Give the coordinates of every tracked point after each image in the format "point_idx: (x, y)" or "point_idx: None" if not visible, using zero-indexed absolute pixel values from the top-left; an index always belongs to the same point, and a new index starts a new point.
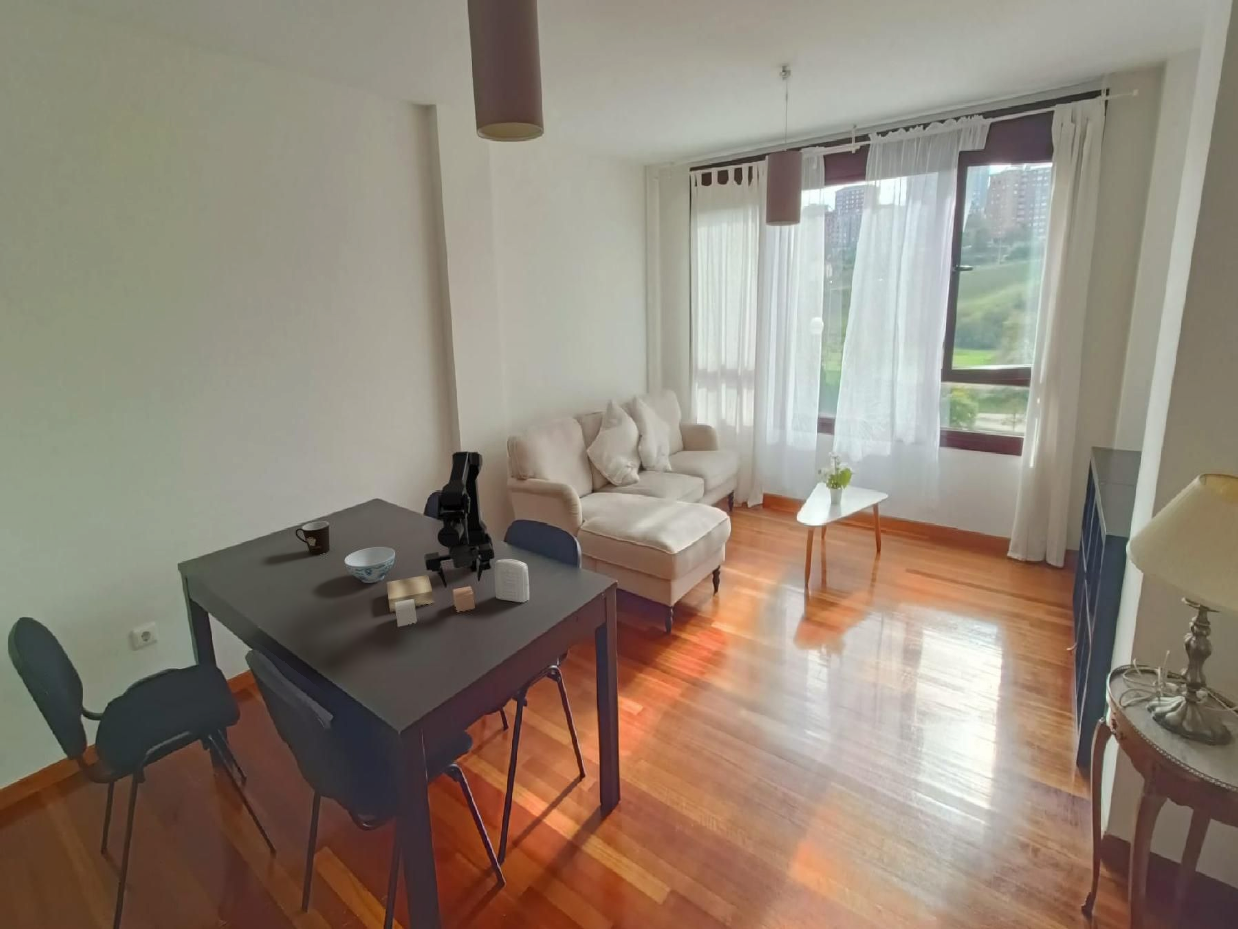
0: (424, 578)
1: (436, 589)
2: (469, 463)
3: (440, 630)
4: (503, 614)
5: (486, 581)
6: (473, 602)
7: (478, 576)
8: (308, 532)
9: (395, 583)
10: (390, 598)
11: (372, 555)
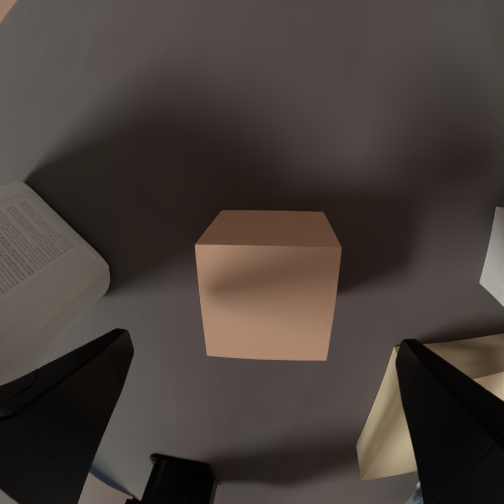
0: (383, 467)
1: (342, 428)
2: None
3: (426, 69)
4: (97, 98)
5: (159, 409)
6: (217, 222)
7: (96, 352)
8: None
9: None
10: None
11: None
